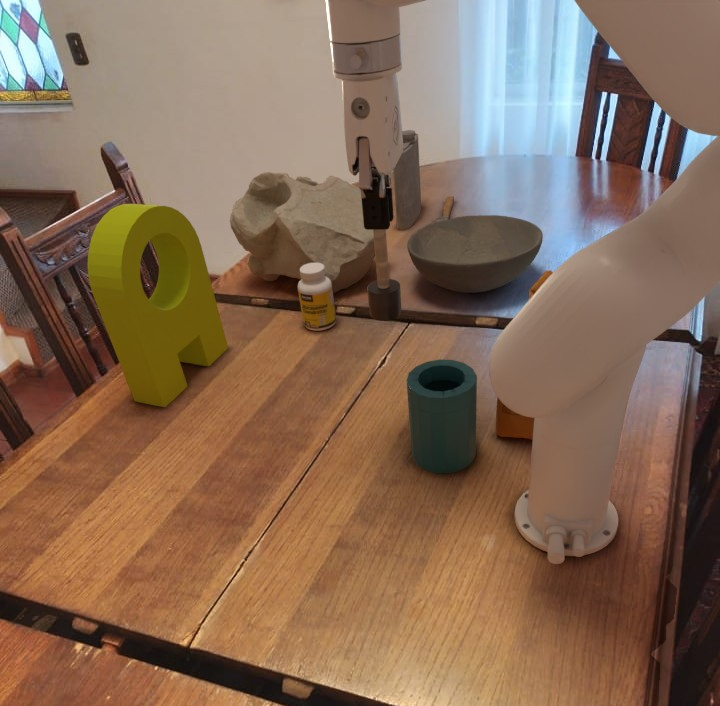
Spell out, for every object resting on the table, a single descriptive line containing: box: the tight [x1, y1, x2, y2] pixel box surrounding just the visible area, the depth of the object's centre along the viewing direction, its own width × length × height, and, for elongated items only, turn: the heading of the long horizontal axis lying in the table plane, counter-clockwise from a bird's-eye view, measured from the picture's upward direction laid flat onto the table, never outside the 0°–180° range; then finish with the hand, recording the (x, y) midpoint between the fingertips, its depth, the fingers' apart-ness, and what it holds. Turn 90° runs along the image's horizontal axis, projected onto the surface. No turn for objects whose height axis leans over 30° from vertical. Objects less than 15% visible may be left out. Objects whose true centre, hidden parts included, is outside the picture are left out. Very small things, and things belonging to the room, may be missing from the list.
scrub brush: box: [366, 177, 403, 322], centre depth 87 cm, size 4×4×18 cm
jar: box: [406, 359, 478, 474], centre depth 95 cm, size 9×9×13 cm
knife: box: [435, 195, 455, 222], centre depth 164 cm, size 31×1×3 cm
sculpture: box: [229, 171, 375, 294], centre depth 144 cm, size 26×27×30 cm
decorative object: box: [87, 203, 229, 408], centre depth 114 cm, size 20×7×30 cm, turn 155°
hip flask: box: [392, 129, 422, 231], centre depth 163 cm, size 16×4×20 cm, turn 164°
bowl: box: [406, 214, 544, 294], centre depth 136 cm, size 26×26×10 cm
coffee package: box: [495, 270, 554, 441], centre depth 95 cm, size 10×12×22 cm
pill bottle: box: [297, 263, 337, 332], centre depth 129 cm, size 6×6×12 cm
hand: (379, 223), depth 85 cm, fingers closed on scrub brush
